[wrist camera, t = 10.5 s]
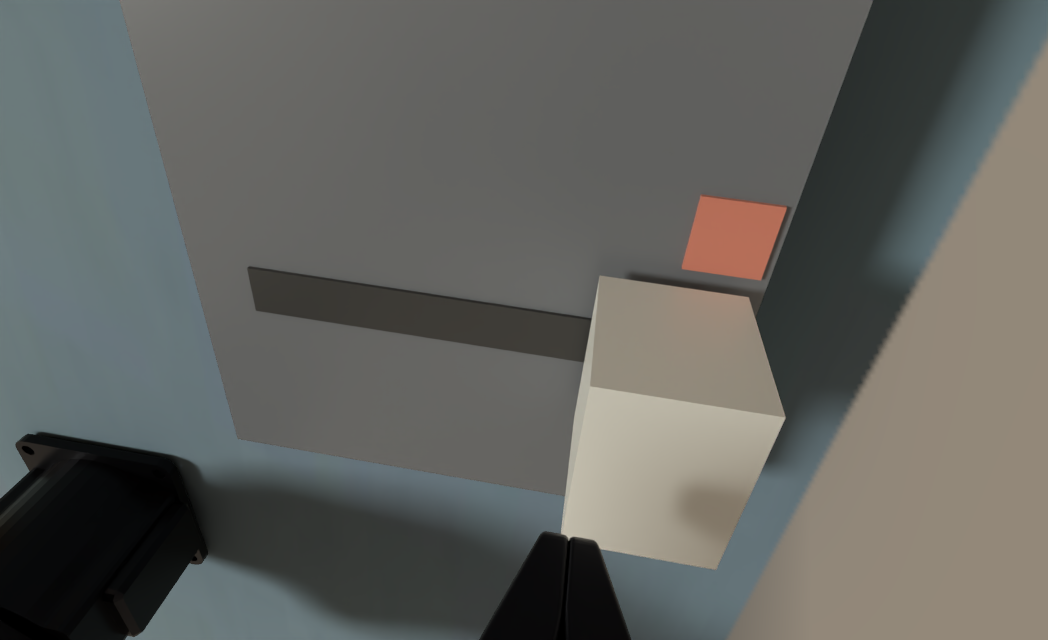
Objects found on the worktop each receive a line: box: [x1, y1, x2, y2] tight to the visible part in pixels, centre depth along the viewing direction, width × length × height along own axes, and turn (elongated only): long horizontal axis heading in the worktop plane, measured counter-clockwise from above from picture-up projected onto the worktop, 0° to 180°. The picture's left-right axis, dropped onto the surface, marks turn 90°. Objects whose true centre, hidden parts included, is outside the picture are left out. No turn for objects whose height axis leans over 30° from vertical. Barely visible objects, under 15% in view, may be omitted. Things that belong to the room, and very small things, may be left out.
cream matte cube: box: [561, 276, 786, 570], centre depth 12 cm, size 3×4×4 cm
